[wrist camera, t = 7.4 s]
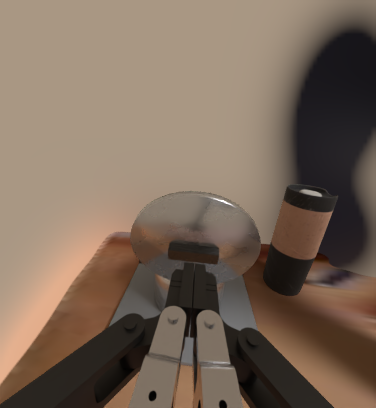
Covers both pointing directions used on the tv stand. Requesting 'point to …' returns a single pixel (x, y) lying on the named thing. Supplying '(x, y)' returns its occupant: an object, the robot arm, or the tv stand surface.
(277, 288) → the travel mug
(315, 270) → the tv stand surface
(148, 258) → the lid
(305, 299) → the tv stand surface
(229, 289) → the mat
